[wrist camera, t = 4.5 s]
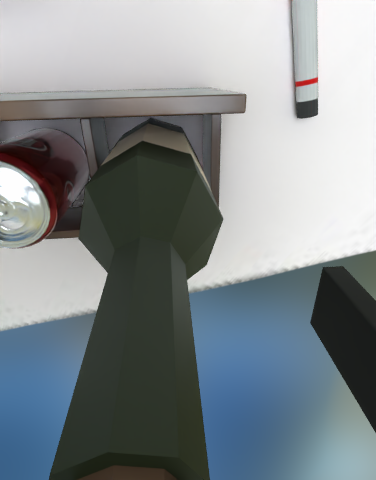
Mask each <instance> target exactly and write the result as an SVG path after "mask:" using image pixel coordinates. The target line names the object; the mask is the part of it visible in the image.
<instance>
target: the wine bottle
mask: <svg viewBox="0 0 376 480" xmlns="http://www.w3.org/2000/svg"><path fill="white" fill-rule="evenodd" d="M222 222H223V217H222V215H221V212H220V210H219V208H218V205H217V203H216V201H215V198H214V196H213V194H212V191H211V189H210V186H209V184H208V182H207V179H206V177H205V175H204V172H203V170H202V168H201V165H200V163H199V161H198V158H197V156H196V154H195V152H194V150H193V148H192V146H191V144H190V143H189V141H188V139H187V137H186V135H185V133H184V131H183V130H182V128H181V127H179V126H176V125H172V124H169V123H165V122H162V121H159V120H155V119H152V118H150V119H148V120H146V121H145V122H143V123H141V124H140V125H138V126H137V127H135V128H133V129H132V130H130V131H129V132H127V133H125V134H124V135H123V136H122V137H121V139H120V140H119V141H118V143H117V144H116V145H115V147H114V148H113V150H112V151H111V152H110V154H109V155H108V156H107V158H106V159H105V160H104V162H103V163H102V164H101V166H100V167H99V169H98V170H97V171H96V173H95V174H94V175H93V177H92V178H91V179H90V181H89V182H88V183H87V185H86V187H85V194H84V201H83V209H82V216H81V224H80V231H79V240H80V241H81V242H82V243H83V244H84V246H85V247H86V248H87V249H88V250H89V251H90V253H91V254H92V255H93V256H94V257H95V258H96V260H97V261H98V262H99V263H100V264H101V265H102V267H103V268H104V269H105V270H106V271H107V273H108V275H107V279H106V282H105V286H104V289H103V293H102V296H101V299H100V303H99V306H98V310H97V313H96V317H95V320H94V324H93V327H92V331H91V334H90V338H89V341H88V344H87V348H86V352H85V355H84V358H83V362H82V365H81V369H80V372H79V376H78V379H77V382H76V386H75V389H74V393H73V396H72V400H71V403H70V407H69V410H68V414H67V417H66V421H65V425H64V427H63V431H62V434H61V438H60V441H59V445H58V448H57V452H56V455H55V459H54V462H53V466H52V469H51V472H50V476H49V480H210V477H209V468H208V460H207V451H206V443H205V433H204V425H203V416H202V407H201V399H200V389H199V381H198V372H197V363H196V355H195V346H194V337H193V328H192V320H191V311H190V302H189V293H188V285H187V280H188V279H189V278H190V277H192V276H193V275H194V274H195V273H197V272H198V271H199V270H201V269H202V268H203V267H205V266H206V265H207V262H208V260H209V257H210V254H211V251H212V249H213V246H214V243H215V241H216V238H217V235H218V232H219V230H220V227H221V224H222Z"/></svg>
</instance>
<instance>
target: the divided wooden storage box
mask: <svg viewBox="0 0 376 480" xmlns="http://www.w3.org/2000/svg"><path fill="white" fill-rule="evenodd" d="M245 109H246V94H243V93H238V92H232V91H227V90H221V89H215V88H180V89H143V90H105V91H68V92H31V93H0V121H16V120H47V119H79V118H81V119H80V122H81V128H82V133H83V139H84V145H85V150H86V156H87V161H88V167H89V172H90V178H92V177H93V175H94V174H95V173H96V171H97V170H98V169H99V167H100V166H101V164H102V163H103V162H104V160H105V159H106V158H107V156H108V155H109V150H108V143H107V136H106V129H105V122H104V118H111V117H142V116H174V115H203V172H204V175H205V177H206V179H207V182H208V184H209V186H210V189H211V191H212V194H213V196H214V198H215V201H216V203H217V205H218V208H219V177H220V142H221V114H234V113H245ZM82 209H83V207H76V208H69V209H68V210H67V211H66V213H65V214H64V215H63V217H62V218H61V219H60V221H59V222H58V223H57V225H56V226H55V228H54V229H53V230H52V232H51V233H50V234H49V235H48V236H47V237H46V238H45V239H57V238H76V237H79V231H80V224H81V216H82Z"/></svg>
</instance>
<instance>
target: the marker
mask: <svg viewBox="0 0 376 480" xmlns="http://www.w3.org/2000/svg"><path fill="white" fill-rule="evenodd" d="M292 18H293V41H294V64H295V86H296V102H297V118H309V117H313V116H316V115H318V39H317V0H292Z"/></svg>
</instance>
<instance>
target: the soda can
mask: <svg viewBox="0 0 376 480" xmlns="http://www.w3.org/2000/svg"><path fill="white" fill-rule="evenodd" d="M88 177H89V167H88V161H87V156H86V154H85V152H84V150H83V149H82V147H81V146H80V145H79V144H78V142H77V141H75V140H74V139H73V138H72V137H71V136H69V135H67V134H66V133H64V132H61V131H59V130H56V129H50V128H40V129H35V130H32V131H29V132H27V133H24V134H22V135H19V136H16V137H14V138H11V139H9V140H6V141H3V142H1V143H0V247H3V248H12V249H13V248H24V247H29V246H32V245H35V244H37V243H39V242H41V241H42V240H44V239H45V238H46V237H47V236H48V235H49V234H50V233H51V232H52V230H53V229H54V228H55V226H56V225H57V223H58V222H59V221H60V219H61V218H62V217H63V215H64V214H65V213H66V211H67V210H68V209H69V207H70V206H71V204H72V203H73V202H74V200H75V199H76V198H77V196H78V195H79V194H80V192H81V191H82V190H83V188H84V187H85V185H86V183H87V181H88Z"/></svg>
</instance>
